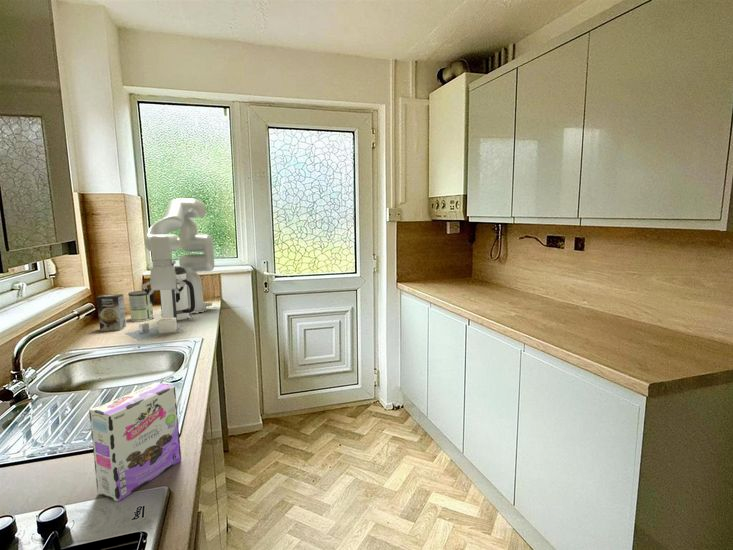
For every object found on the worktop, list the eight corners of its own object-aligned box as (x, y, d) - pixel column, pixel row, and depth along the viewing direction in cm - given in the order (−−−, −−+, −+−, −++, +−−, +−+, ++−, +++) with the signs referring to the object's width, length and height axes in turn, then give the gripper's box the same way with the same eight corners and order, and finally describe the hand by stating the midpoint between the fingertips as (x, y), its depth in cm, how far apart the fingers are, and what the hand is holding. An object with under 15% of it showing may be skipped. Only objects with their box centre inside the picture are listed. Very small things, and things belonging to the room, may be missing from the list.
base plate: (170, 327, 188) (169, 324, 188) (185, 333, 178) (185, 330, 178) (125, 336, 174) (124, 333, 174) (138, 343, 164) (138, 340, 164)
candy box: (117, 503, 71) (107, 415, 68) (96, 494, 73) (86, 409, 71) (182, 460, 83) (176, 384, 81) (163, 454, 85) (156, 380, 83)
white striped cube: (177, 328, 181) (176, 316, 181) (175, 331, 175) (174, 320, 175) (161, 329, 179) (160, 318, 179) (158, 333, 173) (157, 321, 173)
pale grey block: (146, 331, 177) (145, 323, 176) (149, 331, 176) (148, 323, 175) (139, 333, 174) (138, 324, 173) (142, 333, 173) (141, 325, 172)
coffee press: (156, 326, 190) (151, 264, 186) (162, 319, 205) (157, 260, 201) (196, 323, 195) (191, 262, 191) (199, 316, 210) (194, 259, 206)
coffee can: (130, 318, 208) (127, 291, 206) (153, 315, 213) (150, 289, 211) (130, 322, 199) (128, 294, 197) (154, 319, 204) (151, 292, 202)
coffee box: (99, 331, 184) (95, 296, 182) (106, 327, 190) (102, 294, 188) (121, 330, 185) (117, 295, 183) (126, 326, 191) (123, 293, 189)
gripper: (185, 262, 179) (187, 299, 182) (141, 264, 174) (145, 302, 176) (183, 263, 172) (186, 302, 174) (137, 265, 167) (141, 305, 169)
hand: (165, 302), depth 175 cm, fingers open, 9 cm apart
